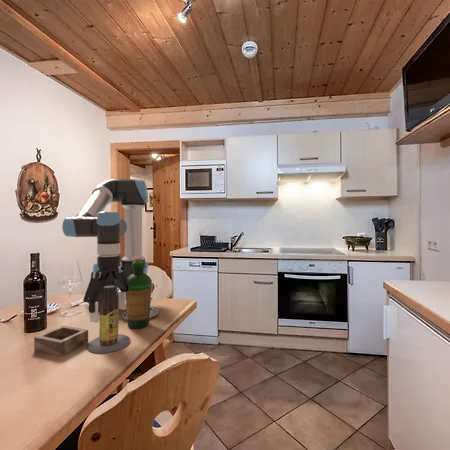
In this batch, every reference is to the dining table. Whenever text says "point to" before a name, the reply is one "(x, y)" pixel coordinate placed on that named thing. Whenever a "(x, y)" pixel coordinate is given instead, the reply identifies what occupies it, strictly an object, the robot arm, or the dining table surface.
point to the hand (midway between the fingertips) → (109, 315)
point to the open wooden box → (61, 340)
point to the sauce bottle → (109, 317)
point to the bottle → (138, 296)
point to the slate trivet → (96, 347)
